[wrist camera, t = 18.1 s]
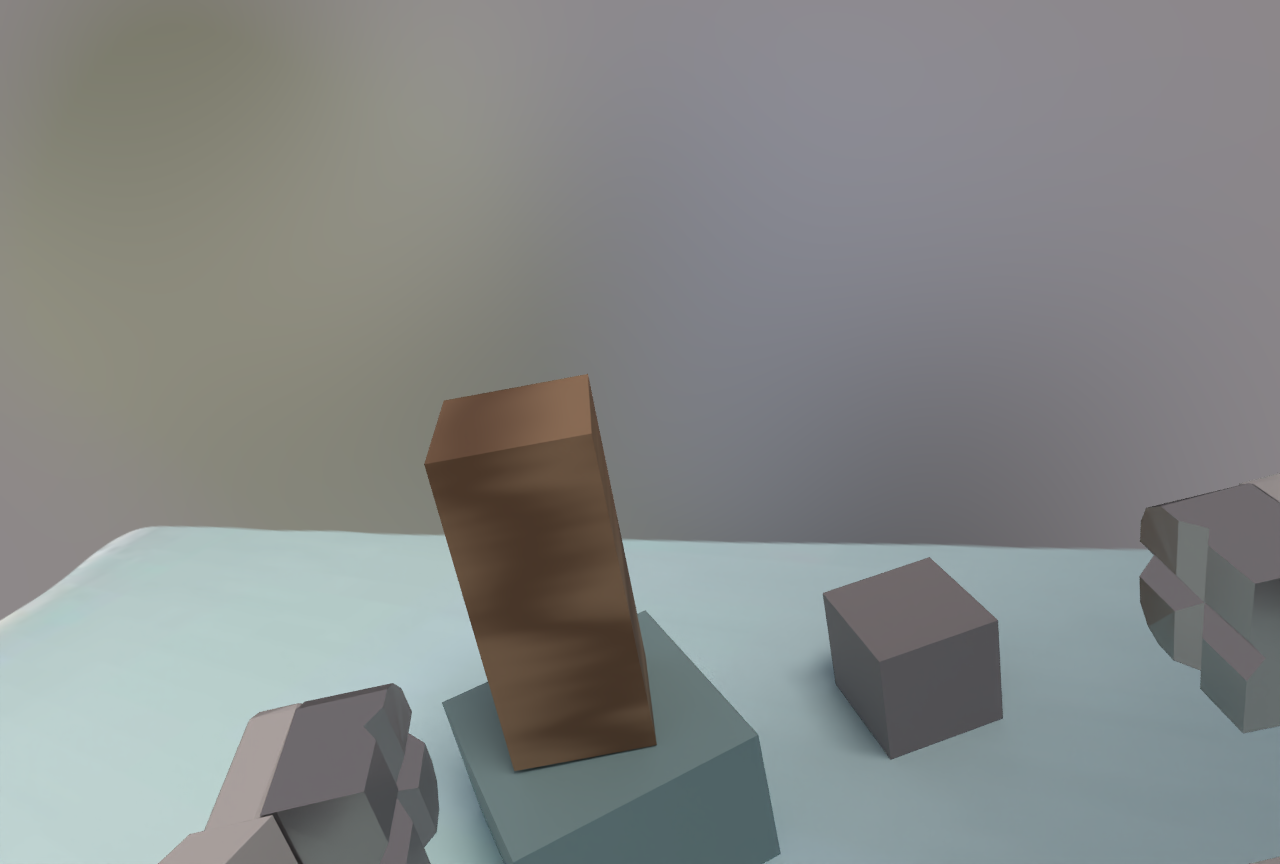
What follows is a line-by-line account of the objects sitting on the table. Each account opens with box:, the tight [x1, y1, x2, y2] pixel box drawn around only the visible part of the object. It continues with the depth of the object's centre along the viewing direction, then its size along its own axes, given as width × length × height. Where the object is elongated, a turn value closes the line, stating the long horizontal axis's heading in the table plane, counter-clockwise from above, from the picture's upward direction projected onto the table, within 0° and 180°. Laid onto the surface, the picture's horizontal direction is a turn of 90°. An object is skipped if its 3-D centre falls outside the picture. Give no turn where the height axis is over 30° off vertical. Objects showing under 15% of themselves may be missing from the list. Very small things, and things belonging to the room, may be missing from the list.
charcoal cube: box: [823, 557, 1003, 759], centre depth 40 cm, size 5×5×5 cm
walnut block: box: [424, 374, 657, 771], centre depth 33 cm, size 5×5×12 cm
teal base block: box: [442, 611, 780, 864], centre depth 36 cm, size 9×9×6 cm
